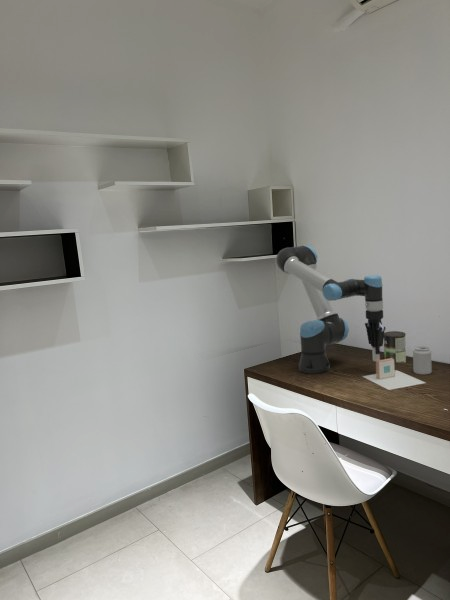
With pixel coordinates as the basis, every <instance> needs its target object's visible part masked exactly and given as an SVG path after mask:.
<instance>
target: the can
mask: <svg viewBox="0 0 450 600" xmlns="http://www.w3.org/2000/svg"><path fill="white" fill-rule="evenodd" d="M412 363H413V365H412V366H413V367H412V368H413V373H414V374H417V375H430V374H432V371H433V369H432V351H431V349H430V347H429V346H424V345H421V346H420V345H418V346H415V347H414V349H413V351H412Z"/></svg>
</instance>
